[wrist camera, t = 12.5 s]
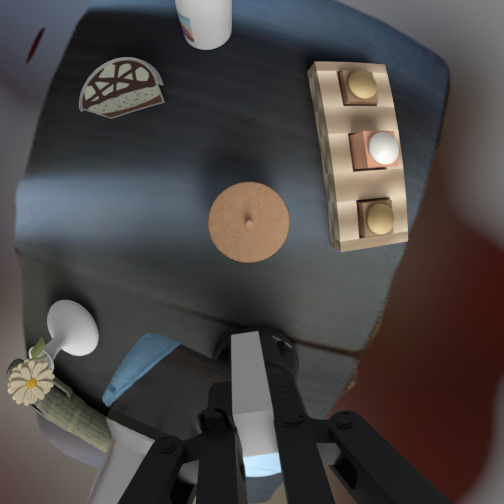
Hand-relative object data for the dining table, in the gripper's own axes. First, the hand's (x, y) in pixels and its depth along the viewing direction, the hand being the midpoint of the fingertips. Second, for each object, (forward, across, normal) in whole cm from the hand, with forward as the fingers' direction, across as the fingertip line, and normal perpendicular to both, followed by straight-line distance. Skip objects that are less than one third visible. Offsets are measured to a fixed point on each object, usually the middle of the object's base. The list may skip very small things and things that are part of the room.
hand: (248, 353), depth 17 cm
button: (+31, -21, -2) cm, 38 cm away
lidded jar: (+33, -2, -4) cm, 33 cm away
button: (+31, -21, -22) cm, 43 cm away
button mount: (+32, -21, -12) cm, 40 cm away
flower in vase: (+33, +32, +10) cm, 47 cm away
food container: (+33, +13, -27) cm, 44 cm away
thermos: (+28, +27, +42) cm, 57 cm away
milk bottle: (+33, 0, -36) cm, 49 cm away
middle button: (+28, -21, -12) cm, 37 cm away
